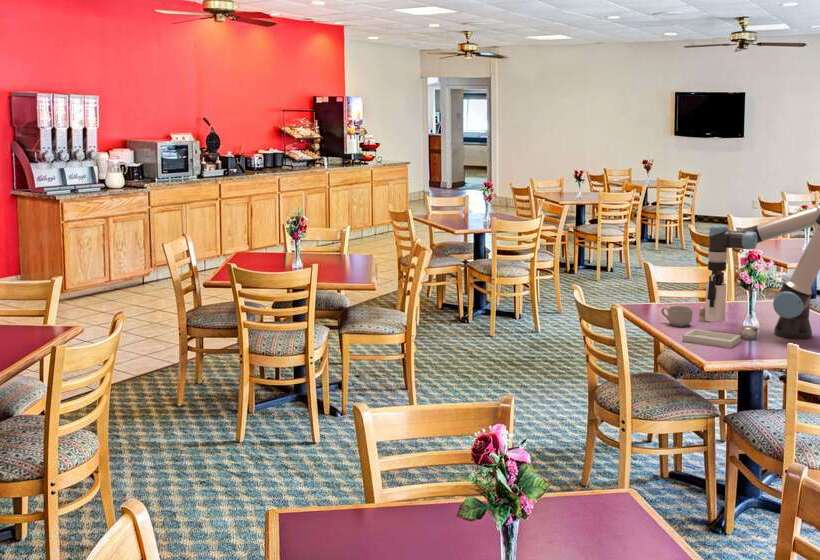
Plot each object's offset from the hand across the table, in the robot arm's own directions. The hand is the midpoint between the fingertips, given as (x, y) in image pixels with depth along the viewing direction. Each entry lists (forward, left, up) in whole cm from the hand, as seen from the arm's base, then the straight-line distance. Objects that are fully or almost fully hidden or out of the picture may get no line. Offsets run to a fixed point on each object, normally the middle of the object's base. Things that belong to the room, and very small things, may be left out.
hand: (715, 312), depth 407 cm
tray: (-4, +18, -9) cm, 21 cm away
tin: (-15, +3, -9) cm, 18 cm away
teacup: (+19, -5, -9) cm, 21 cm away
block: (+11, -21, -9) cm, 25 cm away
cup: (0, 0, -4) cm, 4 cm away
